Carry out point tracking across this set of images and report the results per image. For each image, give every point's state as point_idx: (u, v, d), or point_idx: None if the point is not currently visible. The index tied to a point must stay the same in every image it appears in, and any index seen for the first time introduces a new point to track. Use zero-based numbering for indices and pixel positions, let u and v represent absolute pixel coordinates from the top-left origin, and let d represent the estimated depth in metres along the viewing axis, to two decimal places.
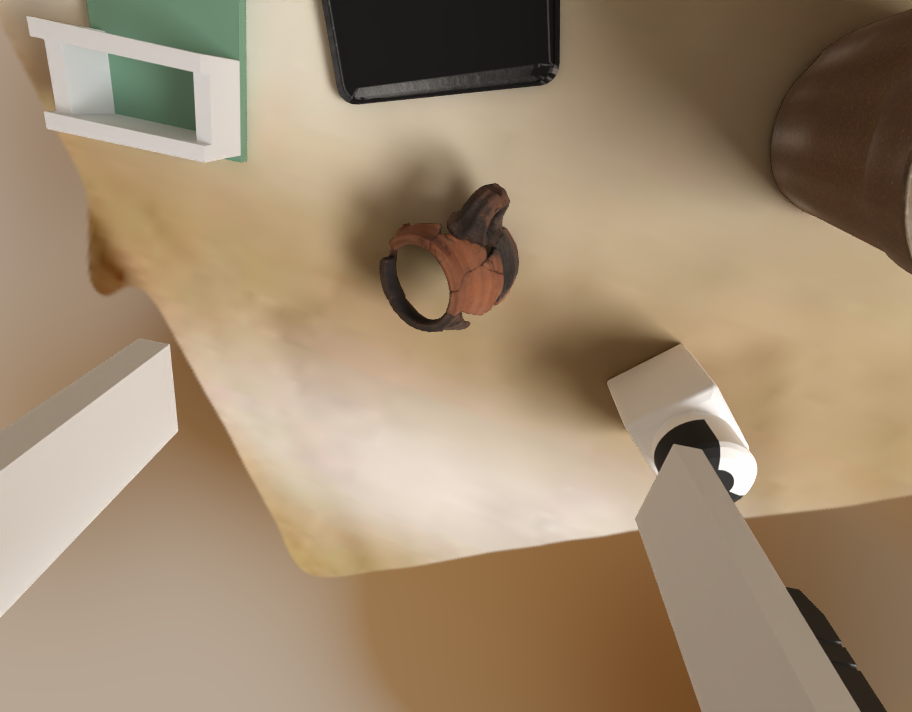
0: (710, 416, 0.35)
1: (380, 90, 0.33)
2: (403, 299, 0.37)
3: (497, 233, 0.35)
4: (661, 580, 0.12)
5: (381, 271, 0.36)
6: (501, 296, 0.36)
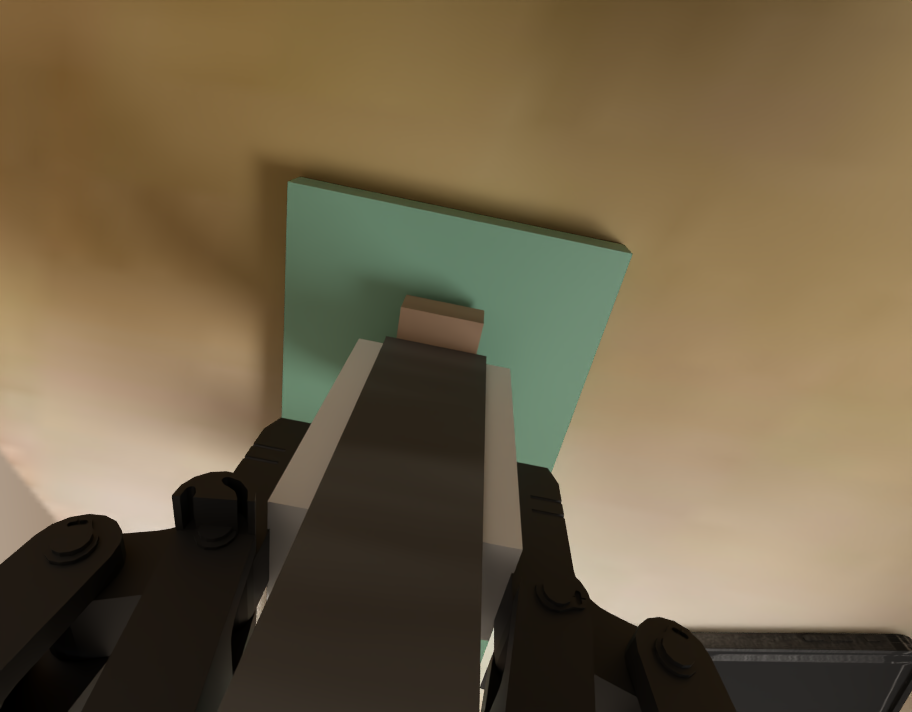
0: None
1: None
2: None
3: None
4: None
5: None
6: None
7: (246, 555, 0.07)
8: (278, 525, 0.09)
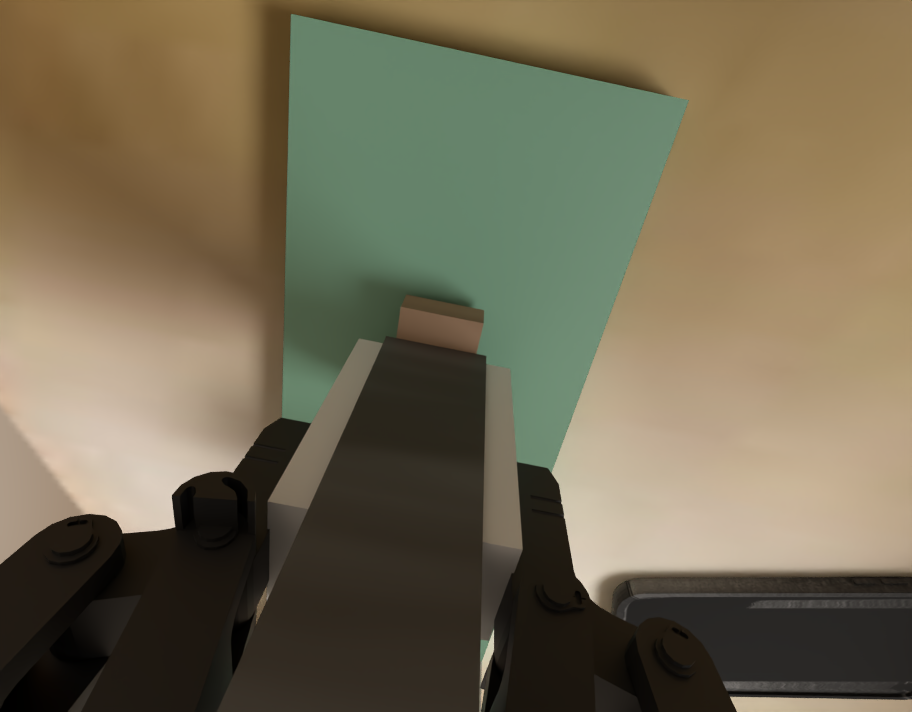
0: None
1: None
2: None
3: None
4: None
5: None
6: None
7: (246, 555, 0.07)
8: (278, 525, 0.09)
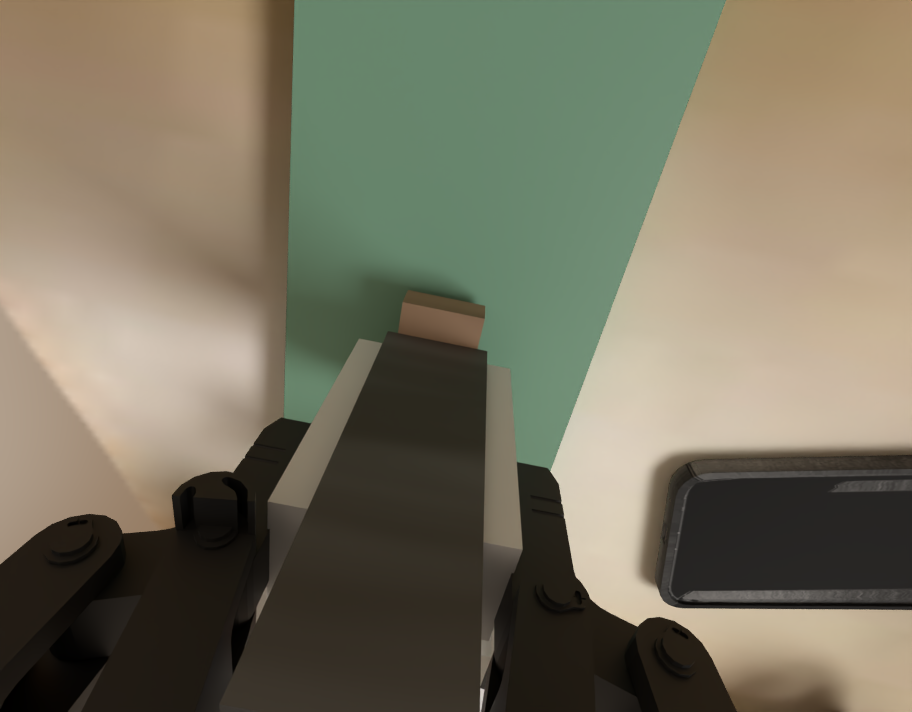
0: None
1: (727, 595, 0.21)
2: None
3: None
4: None
5: None
6: None
7: (246, 555, 0.07)
8: (278, 525, 0.09)
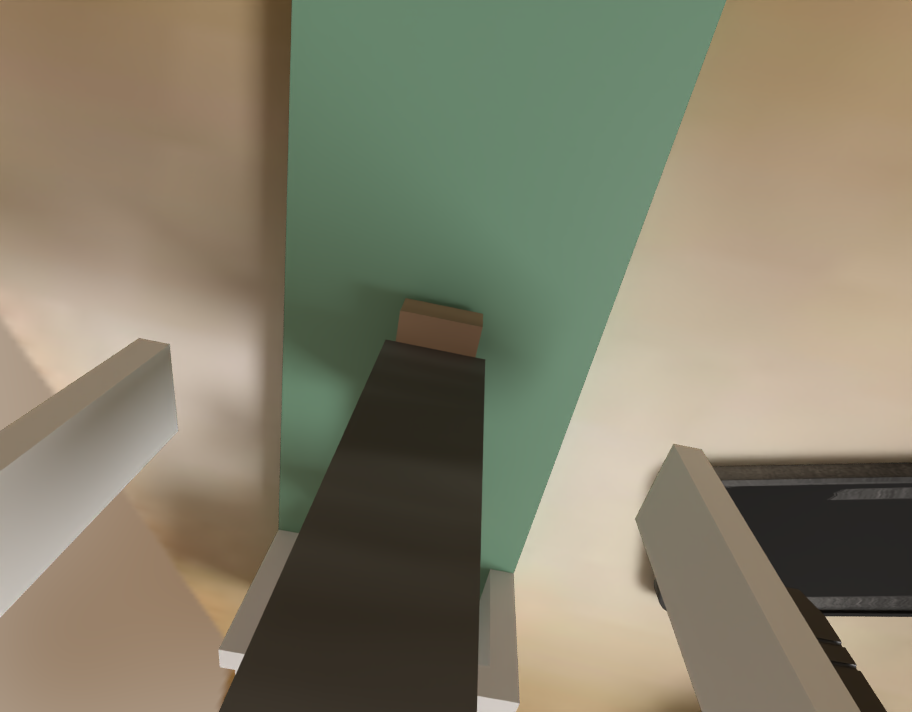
0: None
1: None
2: None
3: None
4: (661, 580, 0.12)
5: None
6: None
7: None
8: None
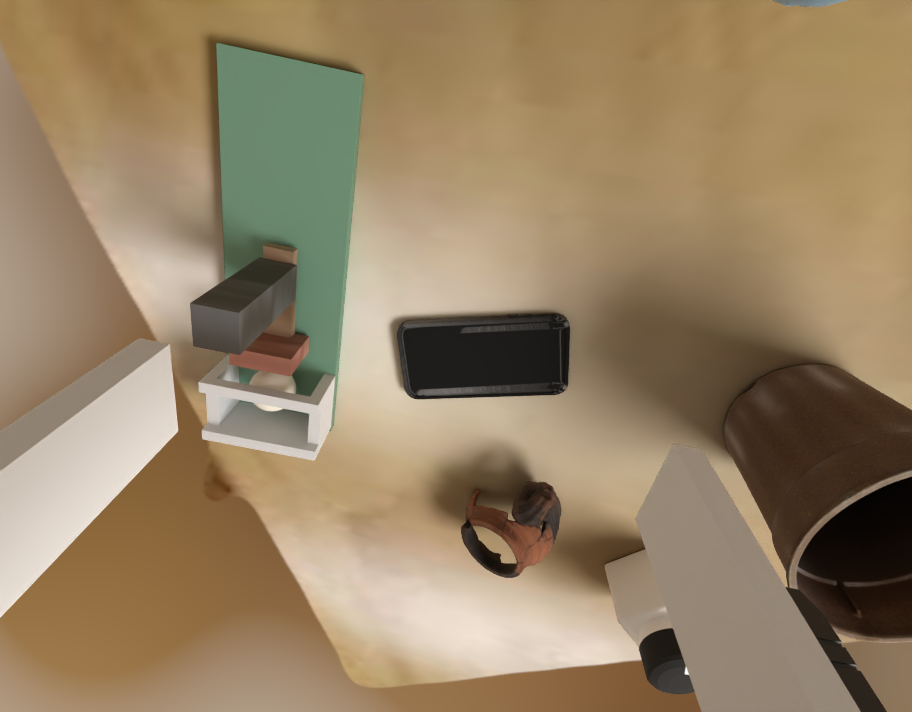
0: None
1: (436, 391, 0.45)
2: (478, 546, 0.50)
3: None
4: (660, 579, 0.12)
5: (462, 533, 0.49)
6: (551, 546, 0.49)
7: None
8: None
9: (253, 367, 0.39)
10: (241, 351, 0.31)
